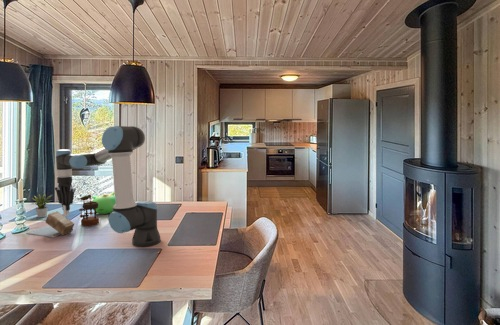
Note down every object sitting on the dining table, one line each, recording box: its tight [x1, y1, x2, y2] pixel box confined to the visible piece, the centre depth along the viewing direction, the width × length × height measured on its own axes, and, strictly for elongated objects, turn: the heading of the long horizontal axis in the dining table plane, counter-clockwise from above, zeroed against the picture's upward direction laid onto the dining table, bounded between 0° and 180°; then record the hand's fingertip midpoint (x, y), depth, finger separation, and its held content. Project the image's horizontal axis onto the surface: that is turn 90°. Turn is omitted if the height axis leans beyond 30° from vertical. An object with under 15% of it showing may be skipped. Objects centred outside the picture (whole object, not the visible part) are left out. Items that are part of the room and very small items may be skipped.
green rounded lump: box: [91, 191, 116, 215], centre depth 225 cm, size 18×17×15 cm
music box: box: [76, 194, 104, 227], centre depth 201 cm, size 15×11×20 cm
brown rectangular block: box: [45, 211, 75, 236], centre depth 183 cm, size 6×6×14 cm
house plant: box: [31, 193, 53, 218], centre depth 213 cm, size 14×14×16 cm
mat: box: [26, 225, 74, 238], centre depth 186 cm, size 20×14×1 cm
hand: (66, 215), depth 181 cm, fingers closed
